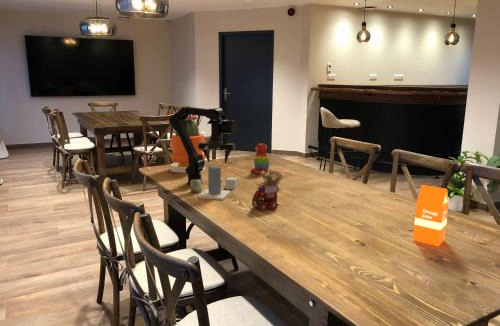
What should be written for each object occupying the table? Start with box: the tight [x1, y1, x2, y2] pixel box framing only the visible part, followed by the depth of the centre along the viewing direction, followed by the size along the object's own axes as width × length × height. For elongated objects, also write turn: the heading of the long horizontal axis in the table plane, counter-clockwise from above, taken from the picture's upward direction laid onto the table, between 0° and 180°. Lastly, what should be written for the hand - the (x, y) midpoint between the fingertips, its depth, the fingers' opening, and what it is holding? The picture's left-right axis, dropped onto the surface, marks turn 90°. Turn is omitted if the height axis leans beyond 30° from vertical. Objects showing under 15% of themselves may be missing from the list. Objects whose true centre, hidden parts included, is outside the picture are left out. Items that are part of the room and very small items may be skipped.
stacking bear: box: [250, 142, 270, 176], centre depth 252 cm, size 11×10×18 cm
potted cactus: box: [169, 114, 206, 173], centre depth 254 cm, size 22×22×35 cm
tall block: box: [207, 165, 222, 195], centre depth 203 cm, size 4×4×13 cm
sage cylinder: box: [190, 179, 202, 194], centre depth 209 cm, size 5×5×6 cm
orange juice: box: [412, 184, 449, 247], centre depth 149 cm, size 8×9×20 cm
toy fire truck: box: [251, 185, 279, 212], centre depth 184 cm, size 7×12×10 cm, turn 115°
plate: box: [196, 188, 232, 201], centre depth 204 cm, size 13×13×1 cm
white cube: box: [225, 176, 239, 190], centre depth 218 cm, size 5×5×5 cm
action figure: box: [260, 169, 284, 187], centre depth 223 cm, size 10×11×15 cm
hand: (217, 162), depth 218 cm, fingers open, 9 cm apart
